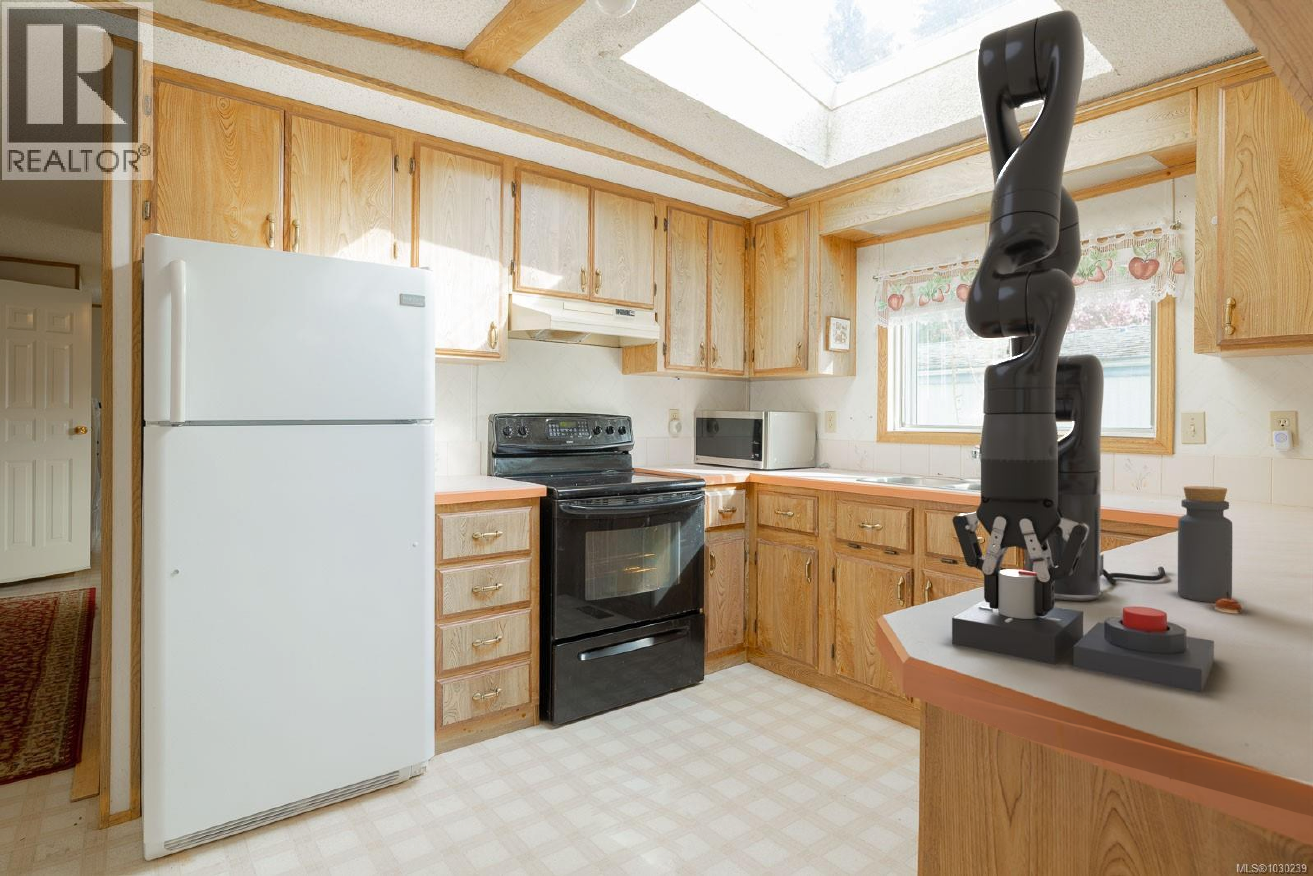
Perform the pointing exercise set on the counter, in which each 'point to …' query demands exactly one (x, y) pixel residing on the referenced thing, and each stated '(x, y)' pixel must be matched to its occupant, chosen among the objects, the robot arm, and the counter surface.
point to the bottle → (1204, 545)
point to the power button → (1144, 618)
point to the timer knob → (1017, 593)
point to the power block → (1146, 654)
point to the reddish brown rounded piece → (1228, 605)
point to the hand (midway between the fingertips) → (1018, 610)
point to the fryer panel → (1018, 632)
